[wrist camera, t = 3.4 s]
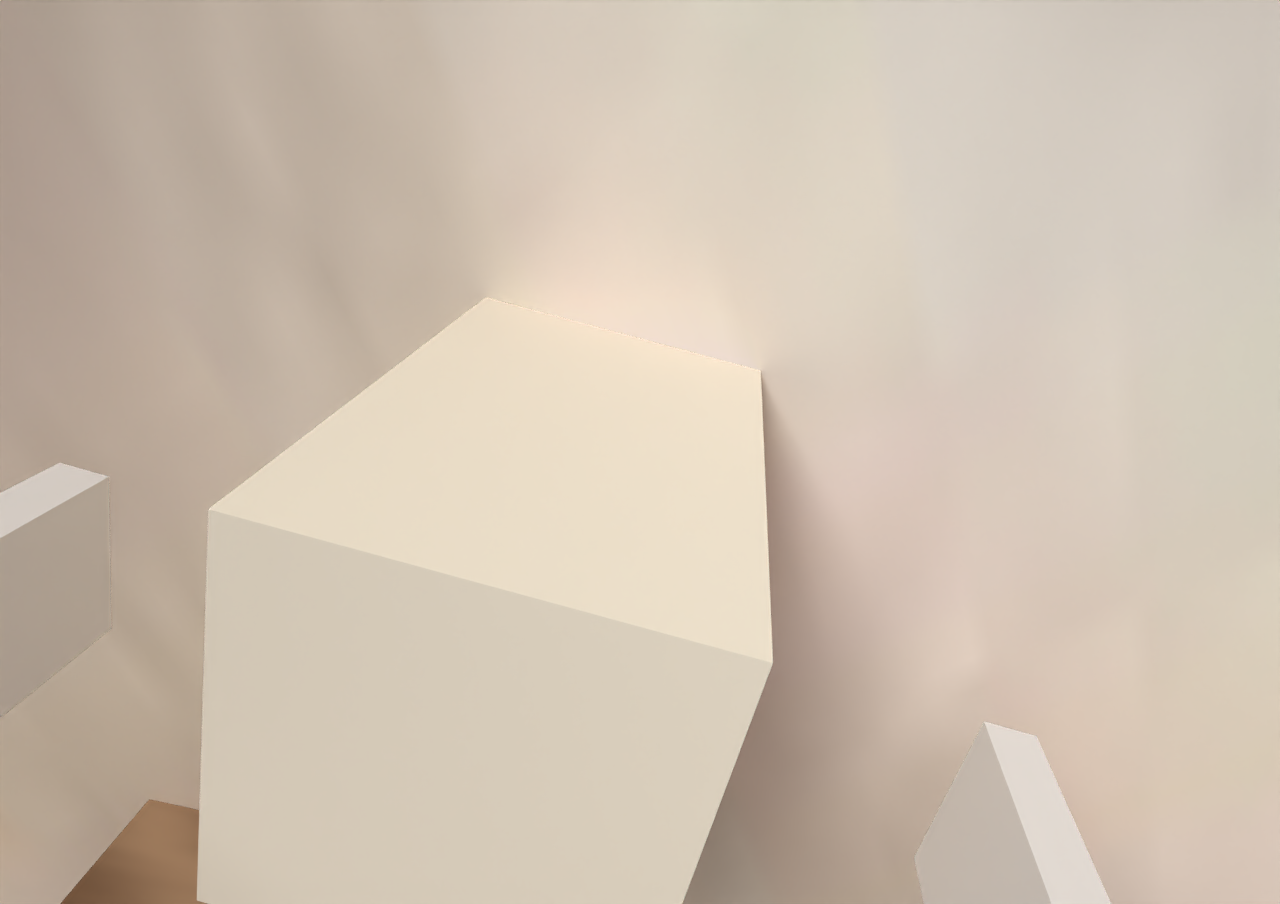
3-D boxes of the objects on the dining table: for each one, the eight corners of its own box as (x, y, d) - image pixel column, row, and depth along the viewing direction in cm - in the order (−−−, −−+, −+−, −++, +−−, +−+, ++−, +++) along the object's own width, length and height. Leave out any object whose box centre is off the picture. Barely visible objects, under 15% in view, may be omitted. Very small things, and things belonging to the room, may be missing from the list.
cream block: (446, 537, 20) (195, 900, 11) (486, 296, 18) (208, 508, 9) (688, 602, 20) (636, 1023, 11) (760, 370, 18) (773, 663, 9)
